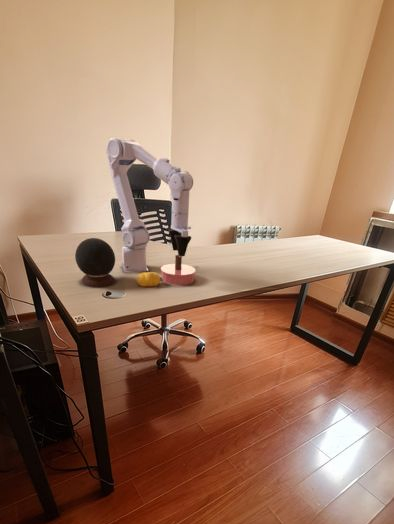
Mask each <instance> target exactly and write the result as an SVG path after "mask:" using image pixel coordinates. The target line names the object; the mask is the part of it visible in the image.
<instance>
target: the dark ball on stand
mask: <svg viewBox="0 0 394 524" xmlns="http://www.w3.org/2000/svg"><path fill="white" fill-rule="evenodd" d="M74 259H75V262H76V265H77V267H78V269H79V270H80V272H82V273H83V274H84V275H83V277H82V278H81V283H82V285H84V286H86V287H90V288H104V287H109V286H111V285H113V284H114V283H115V278H114V276H113V275H112V274H110V273H111V272H112V271H113V270H114V267H115V265H116V255H115V251H114V249H113V248H112V246H111V245H110V244H109V243H108V242H106V241H105V240H103V239H101V238H97V237H91V238H90V237H89V238H86V239H85V240H83V241H81V242H80V243H79V244H78V246H77V247H76V250H75V255H74Z"/></svg>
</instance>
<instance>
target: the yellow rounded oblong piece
mask: <svg viewBox="0 0 394 524" xmlns="http://www.w3.org/2000/svg"><path fill="white" fill-rule="evenodd" d="M136 282H137V284H138V285H139V286H140V287H142V288H148V287H157V286H158V285H159V284H160V282H163V279H162V276H160V275H159V274H158V272H155V271H143V272H139V274H137V277H136Z"/></svg>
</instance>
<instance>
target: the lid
mask: <svg viewBox="0 0 394 524" xmlns="http://www.w3.org/2000/svg"><path fill="white" fill-rule="evenodd" d="M174 257H175V259H174V263H168V264H164V265H162V266H161V267H160V272H161V273H162V272H163V273H165V274H167V275H172V276H189V275H192V274H194V275H195V273H196V268H194V267H193V266H191V265H188V264H183V263H182V262H183V256H179V255H178V254H175V256H174Z"/></svg>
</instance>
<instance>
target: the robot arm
mask: <svg viewBox="0 0 394 524" xmlns="http://www.w3.org/2000/svg"><path fill="white" fill-rule="evenodd" d="M105 153H106V154H107V159H108V166H109V172H110V173H109V174H110V176H111V179H112V184H113V187H114V191H115V194H116V197H117V200H118V203H119V207H120V210H121V214H122V218H123V221H124V223H123V225H122V227H121V228H120V230H121V235H122V237H121V239H122V243H123V244H124V246H123V247H121V259H122V260H121V261H122V262H121V263H122V264H121V265H122V268H123V270H124V272H125V273H137V272H139V273H140V272H150V271H149V268H148V266H147V246H148V243H149V241H150V240H151V239H150V238H151V237H150V232H149V230H148V229H147V228H146V224H145V223H144V222H143V221H142V220H141V219H140V218H139V217H140V216H139V214H138V210H137V207H136V203H135V200H134V196H133V191H132V188H131V185H130V180H129V177H128V171H129V169H130V168H131V167H132V165H133V164H134V163H135V162H136V160H138V161H139V162H141V163H142V164H143V165H145V166H147V167H148V168H151V169H152V170H153V174H154V176H155V177H157V179H160V181H162V182H164V184H166V185H168V187H169V189H170V196H171V223H170V224H171V225H170V229H168V230H167V232H168V234H169V237H170V240H171V241H170V242H171V246H172V250H173V251H177V255H179V256H182V257H186V253H187V249H188V246H189V244H190V242H191V240H192V236H191V235H189V230H191V229H192V226H190V225H189V209H190V192H191V190H192V188H193V186H194V177H193V176H192V174H190V172H189V171H186V170H184V171H182V170H181V168H180V167H179V166H175V165H174V164H172V163H171V162H170V159H169V158H168V157H164V158H163V157H162V158H157V157H156V156H155V155H153V154H152V153H151V152H149V151H148V150H147V149H146V148H144V146H143V145H141V144H140V143H139V142H137V141H135V140H134V139H125V138H117V137H111V138H109V139H108V141H107V144H106V147H105Z"/></svg>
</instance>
